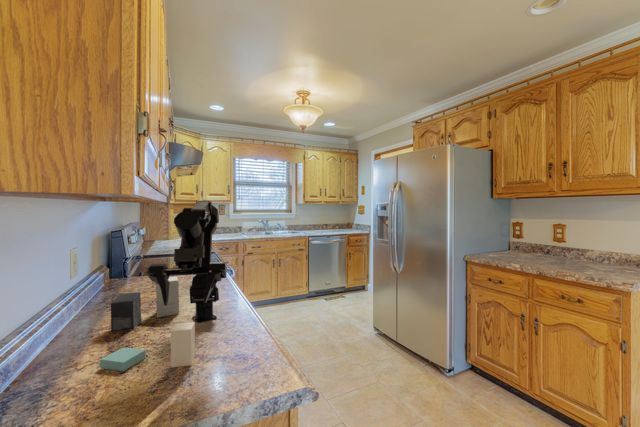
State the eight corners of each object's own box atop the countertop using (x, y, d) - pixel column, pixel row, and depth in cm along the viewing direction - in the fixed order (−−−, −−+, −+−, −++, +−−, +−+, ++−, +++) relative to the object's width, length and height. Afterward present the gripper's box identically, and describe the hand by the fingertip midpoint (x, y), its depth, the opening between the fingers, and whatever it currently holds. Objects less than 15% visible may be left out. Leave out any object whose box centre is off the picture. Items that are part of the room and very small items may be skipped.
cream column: (175, 363, 74) (175, 323, 74) (195, 361, 75) (194, 322, 75) (171, 373, 69) (170, 331, 69) (191, 371, 70) (191, 329, 70)
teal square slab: (123, 355, 75) (123, 347, 75) (145, 357, 74) (145, 349, 74) (100, 368, 69) (100, 359, 69) (123, 371, 68) (123, 362, 68)
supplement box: (178, 308, 115) (177, 276, 115) (179, 314, 109) (178, 280, 108) (156, 311, 112) (156, 278, 111) (156, 317, 105) (155, 282, 105)
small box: (119, 324, 99) (119, 293, 99) (141, 321, 102) (141, 291, 101) (109, 337, 89) (109, 302, 89) (134, 333, 92) (134, 300, 92)
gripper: (145, 234, 73) (133, 296, 65) (224, 232, 78) (222, 291, 69) (157, 253, 82) (147, 310, 74) (227, 251, 87) (225, 304, 79)
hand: (185, 303), depth 74 cm, fingers open, 9 cm apart
